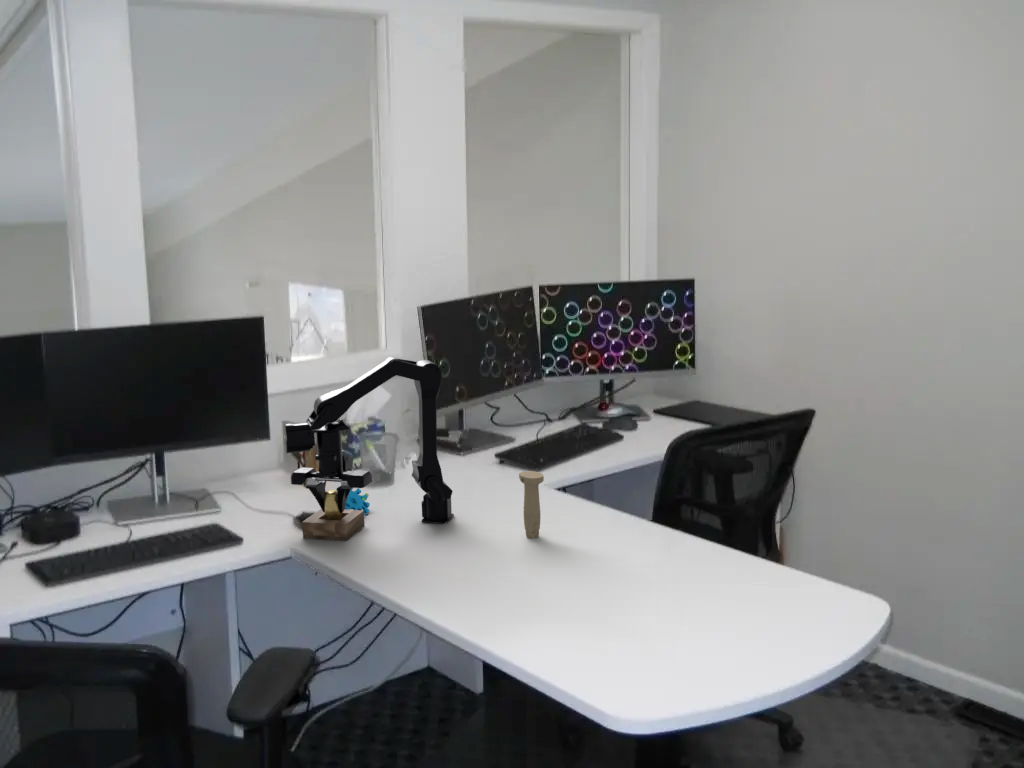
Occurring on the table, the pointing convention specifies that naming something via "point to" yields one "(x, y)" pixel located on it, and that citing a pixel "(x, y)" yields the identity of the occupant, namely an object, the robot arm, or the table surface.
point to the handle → (531, 502)
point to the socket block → (333, 526)
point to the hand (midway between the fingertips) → (333, 512)
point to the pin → (331, 505)
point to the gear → (357, 501)
